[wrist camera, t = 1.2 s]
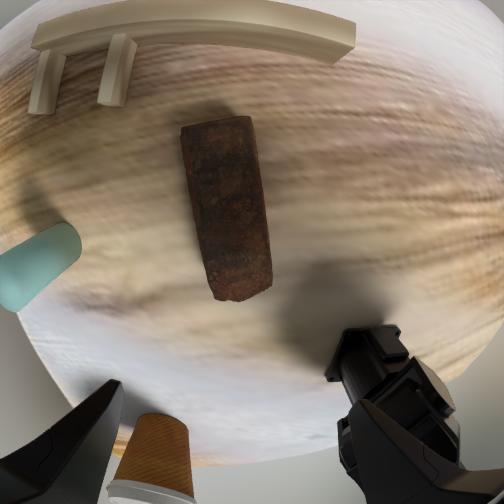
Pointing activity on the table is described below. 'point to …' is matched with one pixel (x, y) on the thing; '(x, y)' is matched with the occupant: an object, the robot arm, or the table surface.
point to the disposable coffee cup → (154, 464)
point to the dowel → (36, 264)
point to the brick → (228, 206)
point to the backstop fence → (177, 37)
